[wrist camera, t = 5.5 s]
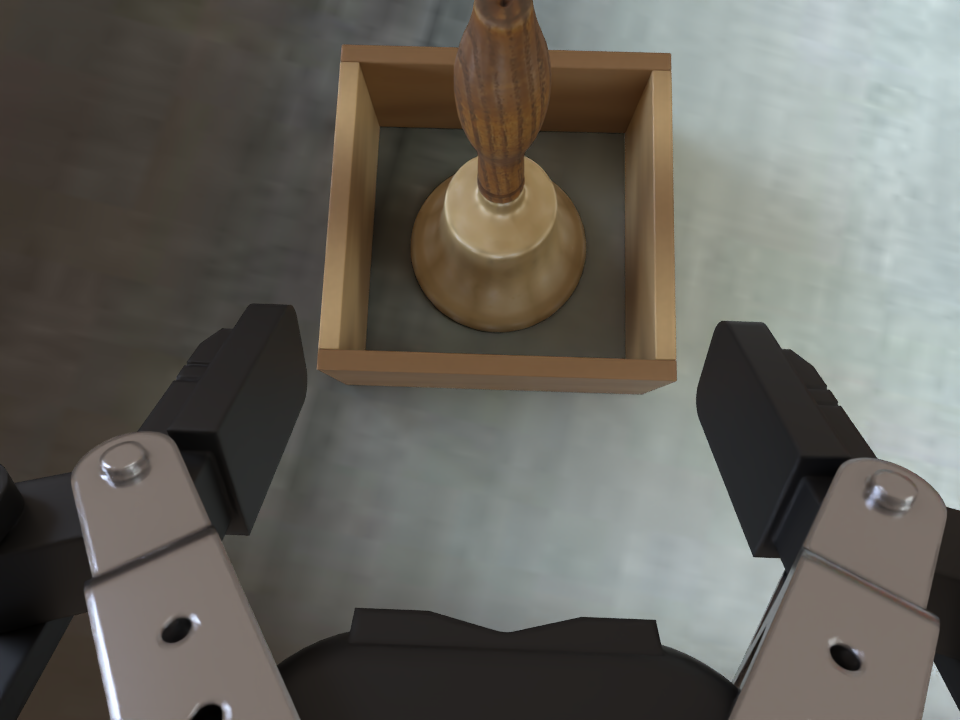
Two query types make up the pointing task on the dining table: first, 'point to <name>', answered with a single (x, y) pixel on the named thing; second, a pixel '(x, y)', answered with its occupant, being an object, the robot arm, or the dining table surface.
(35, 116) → the dining table surface
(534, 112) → the hand bell
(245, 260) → the dining table surface
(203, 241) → the dining table surface
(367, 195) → the crate
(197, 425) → the robot arm
